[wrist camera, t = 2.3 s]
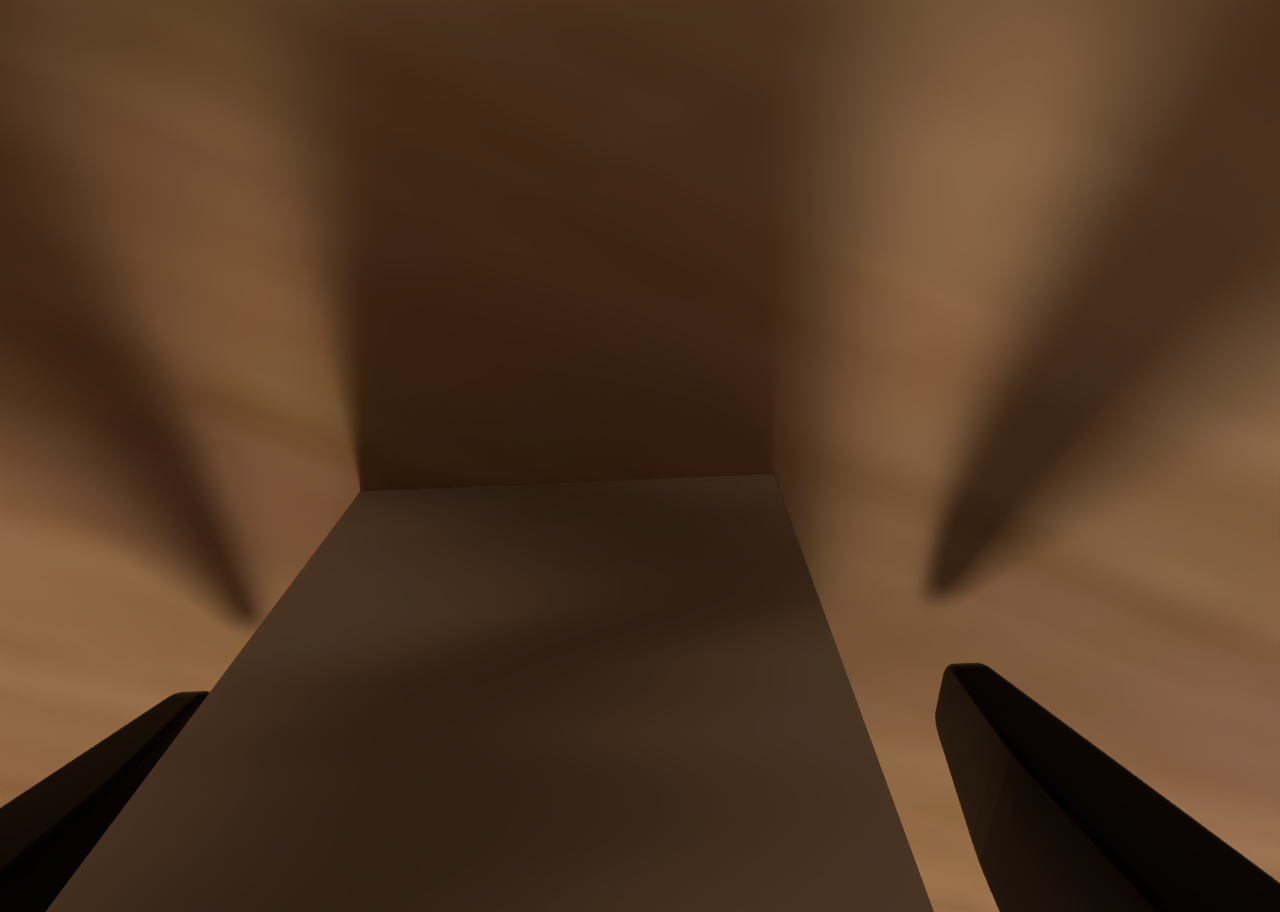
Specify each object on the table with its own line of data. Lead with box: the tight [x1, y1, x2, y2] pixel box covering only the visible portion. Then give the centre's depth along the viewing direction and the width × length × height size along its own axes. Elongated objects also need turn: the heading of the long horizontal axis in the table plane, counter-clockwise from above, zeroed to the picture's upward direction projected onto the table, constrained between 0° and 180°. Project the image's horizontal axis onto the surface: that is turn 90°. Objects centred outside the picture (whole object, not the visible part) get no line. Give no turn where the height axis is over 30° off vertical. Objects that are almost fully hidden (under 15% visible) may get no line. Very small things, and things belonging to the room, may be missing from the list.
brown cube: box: [46, 474, 934, 912], centre depth 7 cm, size 5×5×5 cm
